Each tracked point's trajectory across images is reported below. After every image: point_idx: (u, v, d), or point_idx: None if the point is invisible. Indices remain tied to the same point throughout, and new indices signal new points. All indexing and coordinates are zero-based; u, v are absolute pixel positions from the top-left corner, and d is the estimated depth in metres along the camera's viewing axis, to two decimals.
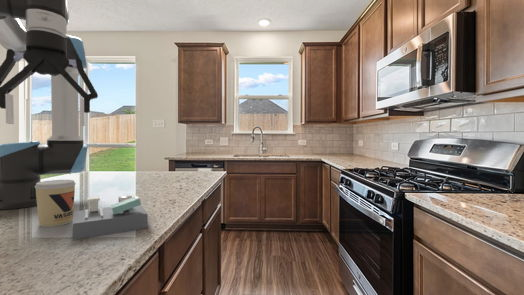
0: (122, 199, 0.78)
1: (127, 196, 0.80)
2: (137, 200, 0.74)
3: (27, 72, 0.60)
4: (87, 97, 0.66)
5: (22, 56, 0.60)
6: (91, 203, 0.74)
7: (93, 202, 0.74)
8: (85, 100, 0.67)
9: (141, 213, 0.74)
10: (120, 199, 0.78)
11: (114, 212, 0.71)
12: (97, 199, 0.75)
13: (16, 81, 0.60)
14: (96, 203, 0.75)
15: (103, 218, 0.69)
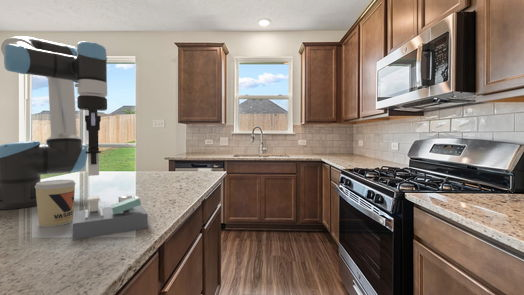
0: (122, 199, 0.78)
1: (127, 196, 0.80)
2: (137, 200, 0.74)
3: (87, 130, 0.80)
4: (85, 152, 0.78)
5: None
6: (91, 203, 0.74)
7: (93, 202, 0.74)
8: None
9: (141, 213, 0.74)
10: (120, 199, 0.78)
11: (114, 212, 0.71)
12: (97, 199, 0.75)
13: None
14: (96, 203, 0.75)
15: (103, 218, 0.69)
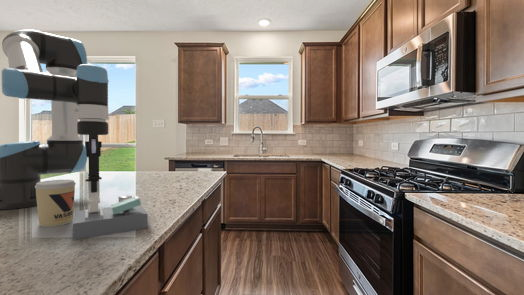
0: (122, 199, 0.78)
1: (127, 196, 0.80)
2: (137, 200, 0.74)
3: None
4: None
5: None
6: (91, 204, 0.73)
7: (93, 203, 0.74)
8: None
9: (141, 213, 0.74)
10: (120, 199, 0.78)
11: (114, 212, 0.71)
12: (97, 200, 0.74)
13: None
14: (96, 204, 0.74)
15: (103, 218, 0.69)
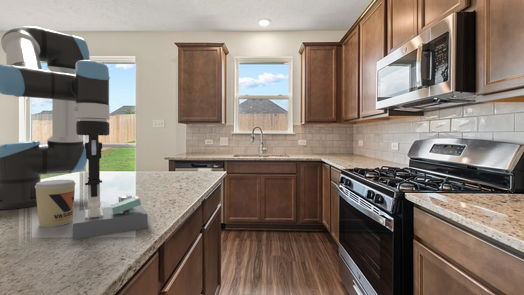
0: (122, 199, 0.78)
1: (127, 196, 0.80)
2: (137, 200, 0.74)
3: None
4: (85, 184, 0.70)
5: None
6: (91, 208, 0.69)
7: (93, 207, 0.69)
8: None
9: (141, 213, 0.74)
10: (120, 199, 0.78)
11: (114, 212, 0.71)
12: (98, 204, 0.69)
13: None
14: (97, 208, 0.70)
15: (103, 218, 0.69)
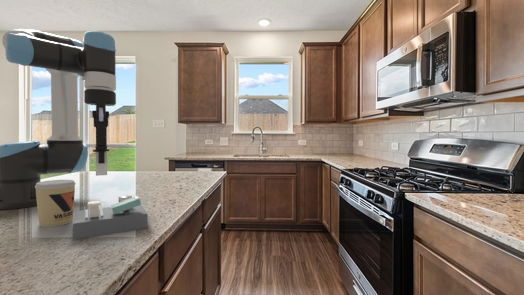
0: (122, 199, 0.78)
1: (127, 196, 0.80)
2: (137, 200, 0.74)
3: None
4: (93, 150, 0.72)
5: None
6: (91, 208, 0.69)
7: (93, 207, 0.69)
8: None
9: (141, 213, 0.74)
10: (120, 199, 0.78)
11: (114, 212, 0.71)
12: (98, 204, 0.69)
13: None
14: (97, 208, 0.70)
15: (103, 218, 0.69)
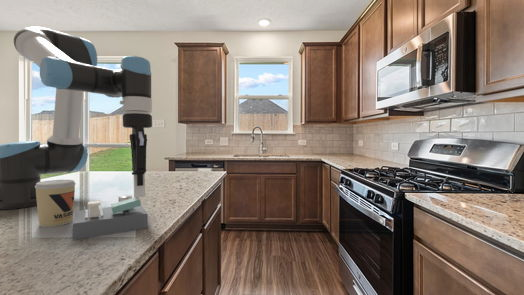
0: (122, 199, 0.78)
1: (127, 196, 0.80)
2: (137, 201, 0.74)
3: (132, 149, 0.75)
4: (132, 173, 0.74)
5: None
6: (91, 208, 0.69)
7: (93, 207, 0.69)
8: None
9: (141, 213, 0.74)
10: (120, 199, 0.78)
11: (113, 212, 0.71)
12: (98, 204, 0.69)
13: (133, 160, 0.76)
14: (97, 208, 0.70)
15: (103, 218, 0.69)
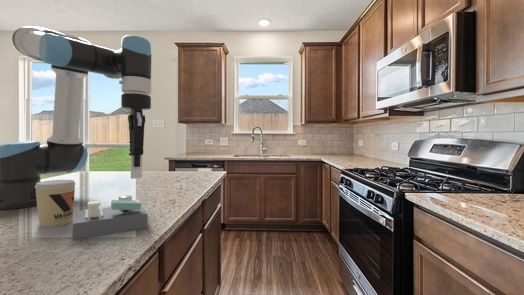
0: (122, 199, 0.78)
1: (127, 196, 0.80)
2: (138, 204, 0.74)
3: (130, 130, 0.75)
4: (129, 154, 0.73)
5: None
6: (91, 208, 0.69)
7: (93, 207, 0.69)
8: None
9: (141, 213, 0.74)
10: (120, 199, 0.78)
11: (113, 208, 0.71)
12: (98, 204, 0.69)
13: (131, 141, 0.75)
14: (97, 208, 0.70)
15: (103, 218, 0.69)
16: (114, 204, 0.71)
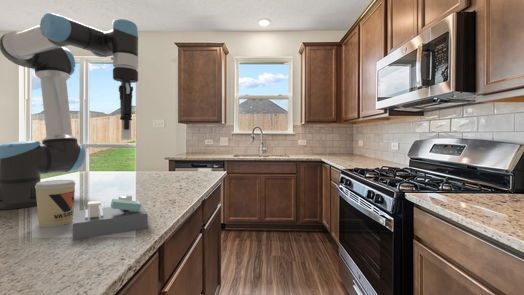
0: (122, 199, 0.78)
1: (127, 196, 0.80)
2: (138, 205, 0.74)
3: (121, 99, 0.89)
4: None
5: None
6: (91, 208, 0.69)
7: (93, 207, 0.69)
8: None
9: (141, 213, 0.74)
10: (120, 199, 0.78)
11: (113, 207, 0.71)
12: (98, 204, 0.69)
13: (121, 108, 0.90)
14: (97, 208, 0.70)
15: (103, 218, 0.69)
16: (114, 203, 0.71)
